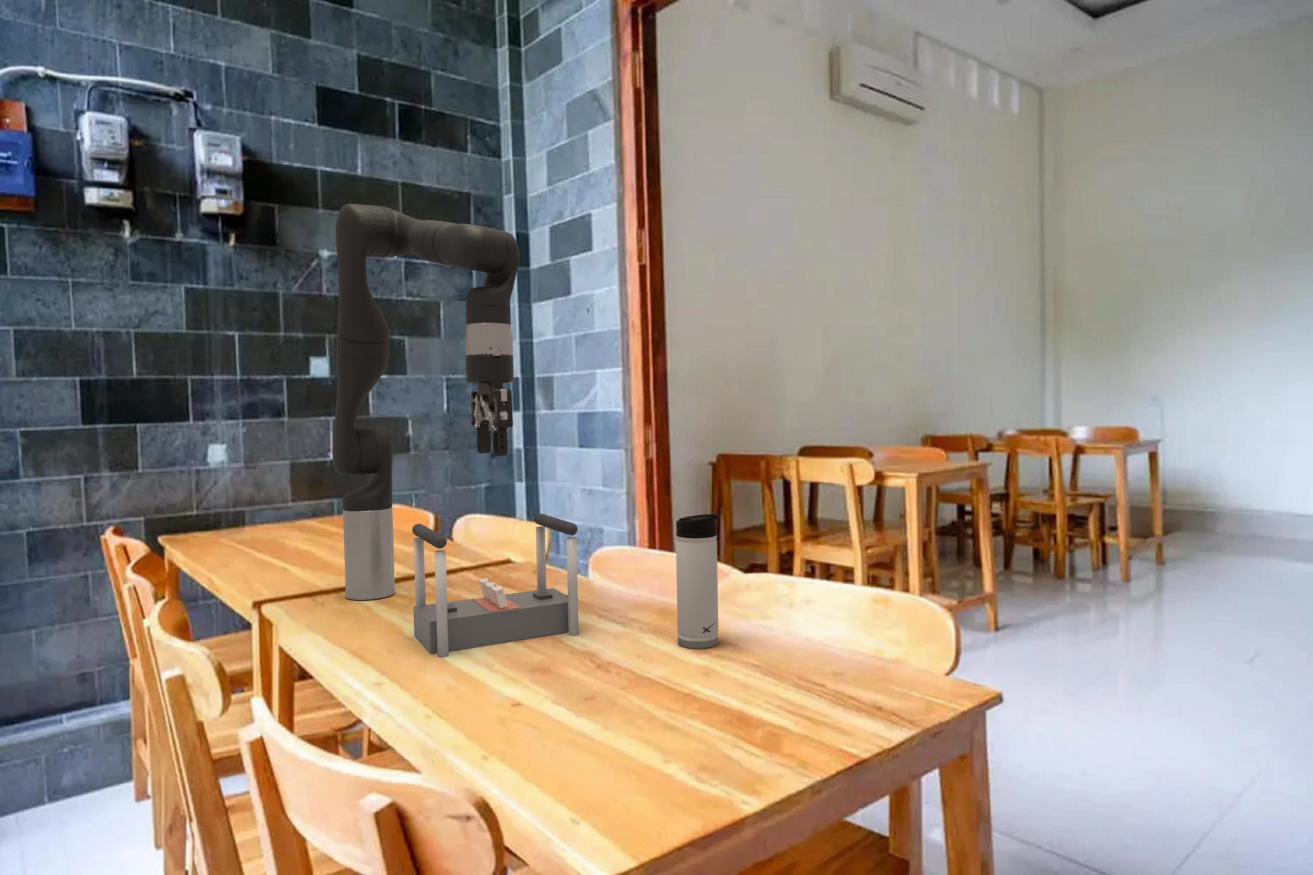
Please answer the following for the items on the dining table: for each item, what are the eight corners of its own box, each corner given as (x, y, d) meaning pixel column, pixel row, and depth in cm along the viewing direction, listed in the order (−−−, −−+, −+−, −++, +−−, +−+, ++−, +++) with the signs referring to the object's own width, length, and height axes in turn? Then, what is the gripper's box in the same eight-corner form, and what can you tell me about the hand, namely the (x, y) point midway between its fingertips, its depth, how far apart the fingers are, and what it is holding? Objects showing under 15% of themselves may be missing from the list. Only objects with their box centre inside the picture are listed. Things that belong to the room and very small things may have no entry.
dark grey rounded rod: (411, 535, 133) (410, 523, 133) (423, 534, 134) (423, 522, 134) (434, 550, 119) (434, 536, 119) (448, 548, 120) (448, 535, 120)
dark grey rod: (532, 524, 144) (532, 513, 143) (543, 523, 144) (543, 512, 144) (568, 536, 129) (567, 524, 129) (579, 535, 130) (579, 523, 130)
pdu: (411, 633, 134) (408, 538, 133) (548, 612, 145) (546, 525, 145) (434, 658, 120) (431, 552, 119) (584, 633, 132) (582, 537, 131)
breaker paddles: (483, 597, 136) (478, 580, 136) (490, 594, 137) (485, 577, 136) (500, 608, 128) (495, 590, 128) (507, 605, 129) (502, 587, 128)
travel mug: (717, 650, 122) (716, 516, 121) (674, 648, 123) (672, 516, 122) (723, 638, 128) (721, 511, 127) (681, 636, 129) (679, 510, 128)
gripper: (454, 355, 135) (457, 453, 136) (479, 350, 123) (482, 457, 123) (498, 356, 139) (500, 451, 139) (526, 351, 126) (529, 455, 127)
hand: (492, 454), depth 131 cm, fingers open, 8 cm apart
